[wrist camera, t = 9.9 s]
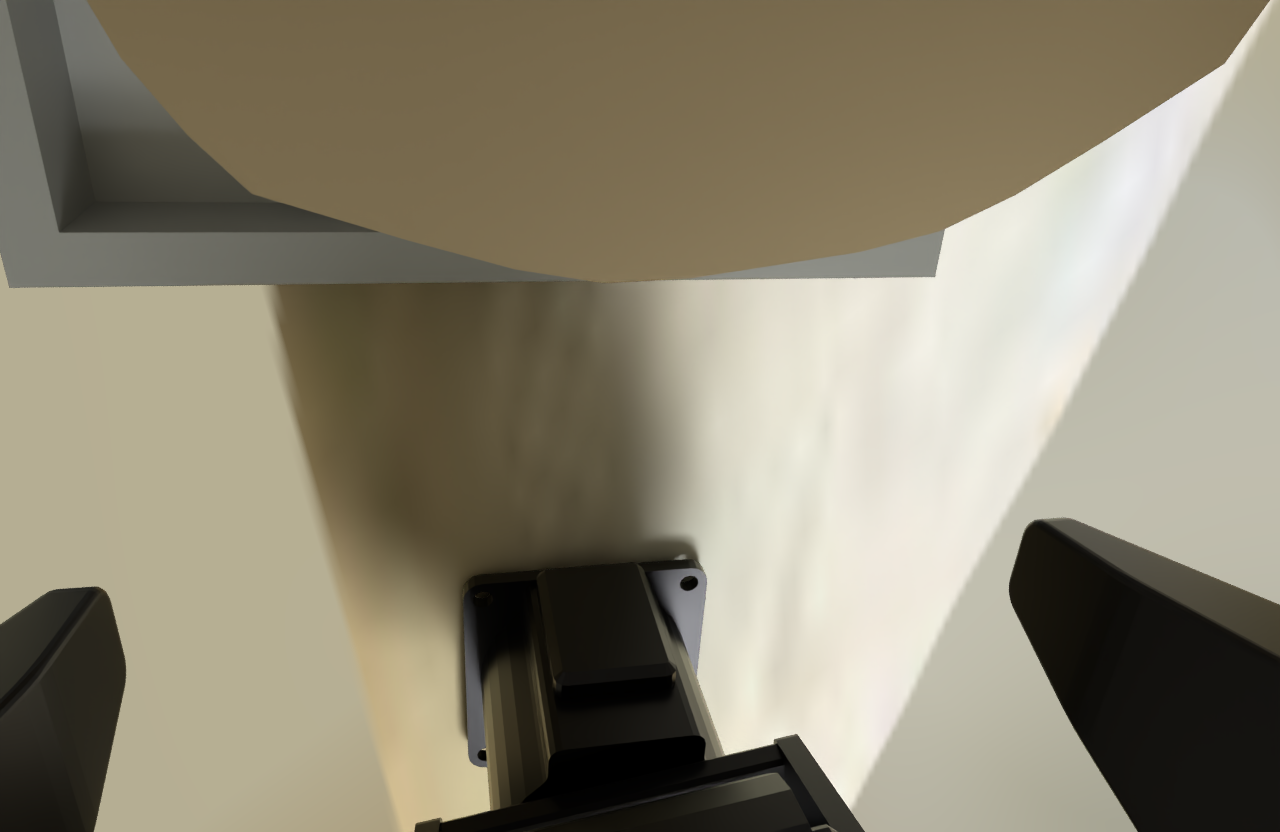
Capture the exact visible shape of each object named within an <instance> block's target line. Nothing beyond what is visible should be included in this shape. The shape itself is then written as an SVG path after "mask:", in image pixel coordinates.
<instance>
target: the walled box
mask: <svg viewBox="0 0 1280 832" xmlns="http://www.w3.org/2000/svg"><path fill="white" fill-rule="evenodd" d="M944 231H945V229H943V230H941V231H939V232H935V233H931V234H928V235H924V236H920V237H916V238H912V239H908V240H904V241H901V242H897V243H893V244H889V245H885V246H881V247H877V248H874V249H870V250H866V251H862V252H857V253H851V254H845V255H838V256H832V257H825V258H819V259H812V260H806V261H799V262H793V263H787V264H780V265H774V266H767V267H761V268H754V269H748V270H742V271H735V272H729V273H722V274H716V275H709V276H703V277H696V278H689V279H671V280H713V279H799V278H886V277H935V274H936V269H937V264H938V259H939V254H940V250H941V245H942V240H943V235H944ZM0 253H1V257H2V261H3V265H4V269H5V272H6V276H7V280H8V284H9V287H10V288H20V287H102V286H103V287H104V286H188V285H189V286H191V285H193V286H194V285H280V284H367V283H453V282H540V281H587V280H581V279H574V278H567V277H561V276H554V275H548V274H541V273H535V272H528V271H522V270H516V269H512V268H508V267H504V266H501V265H497V264H493V263H490V262H486V261H482V260H479V259H475V258H471V257H467V256H464V255H460V254H456V253H453V252H449V251H445V250H441V249H438V248H434V247H430V246H427V245H423V244H419V243H416V242H412V241H408V240H405V239H401V238H398V237H395V236H391V235H388V234H385V233H381V232H378V231H375V230H371V229H368V228H364V227H361V226H358V225H354V224H351V223H348V222H344V221H341V220H338V219H334V218H331V217H328V216H324V215H321V214H318V213H314V212H311V211H308V210H304V209H301V208H297V207H294V206H291V205H287V204H284V203H281V202H277V201H274V200H271V199H267V198H264V197H261V196H257V195H254V194H251V193H250V192H249V191H248V190H247V189H246V188H245V187H244V186H243V185H242V184H240V183H239V182H238V181H237V180H236V179H235V178H234V177H233V176H232V175H231V174H230V173H228V172H227V171H226V170H225V169H224V168H223V167H222V166H221V165H220V164H219V163H218V162H216V161H215V160H214V159H213V158H212V157H211V156H210V155H209V154H208V153H207V152H206V151H204V150H203V149H202V148H201V147H200V146H199V145H198V144H197V143H196V142H195V141H194V140H192V139H191V138H190V137H189V136H188V135H187V134H186V133H185V132H184V130H183V129H182V128H181V127H180V126H179V125H178V124H177V122H176V121H175V120H174V119H173V118H172V117H171V115H170V114H169V113H168V112H167V111H166V110H165V109H164V107H163V106H162V105H161V104H160V103H159V102H158V100H157V99H156V98H155V97H154V96H153V95H152V94H151V92H150V91H149V90H148V89H147V88H146V87H145V86H144V84H143V83H142V82H141V81H140V80H139V79H138V77H137V76H136V75H135V74H134V73H133V72H132V71H131V69H130V68H129V67H128V66H127V65H126V64H125V62H124V61H123V60H122V59H121V58H120V56H119V54H118V53H117V51H116V49H115V47H114V46H113V44H112V42H111V41H110V39H109V37H108V36H107V34H106V32H105V31H104V29H103V27H102V26H101V24H100V22H99V20H98V19H97V17H96V15H95V14H94V12H93V10H92V9H91V7H90V5H89V4H88V2H87V0H0Z"/></svg>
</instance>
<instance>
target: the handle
mask: <svg viewBox="0 0 1280 832" xmlns="http://www.w3.org/2000/svg"><path fill="white" fill-rule="evenodd" d="M1269 1H1270V0H87V2H88V4H89V5H90V7H91V9H92V10H93V12H94V14H95V15H96V17H97V19H98V20H99V22H100V24H101V26H102V27H103V29H104V31H105V32H106V34H107V36H108V37H109V39H110V41H111V42H112V44H113V46H114V47H115V49H116V51H117V53H118V54H119V56H120V58H121V59H122V60H123V61H124V62H125V64H126V65H127V66H128V67H129V68H130V69H131V71H132V72H133V73H134V74H135V75H136V76H137V77H138V79H139V80H140V81H141V82H142V83H143V84H144V86H145V87H146V88H147V89H148V90H149V91H150V92H151V94H152V95H153V96H154V97H155V98H156V99H157V100H158V102H159V103H160V104H161V105H162V106H163V107H164V109H165V110H166V111H167V112H168V113H169V114H170V115H171V117H172V118H173V119H174V120H175V121H176V122H177V124H178V125H179V126H180V127H181V128H182V129H183V130H184V132H185V133H186V134H187V135H188V136H189V137H190V138H191V139H192V140H194V141H195V142H196V143H197V144H198V145H199V146H200V147H201V148H202V149H203V150H204V151H206V152H207V153H208V154H209V155H210V156H211V157H212V158H213V159H214V160H215V161H216V162H218V163H219V164H220V165H221V166H222V167H223V168H224V169H225V170H226V171H227V172H228V173H230V174H231V175H232V176H233V177H234V178H235V179H236V180H237V181H238V182H239V183H240V184H242V185H243V186H244V187H245V188H246V189H247V190H248V191H249V192H250V193H251V194H254V195H257V196H261V197H264V198H267V199H271V200H274V201H277V202H281V203H284V204H287V205H291V206H294V207H297V208H301V209H304V210H308V211H311V212H314V213H318V214H321V215H324V216H328V217H331V218H334V219H338V220H341V221H344V222H348V223H351V224H354V225H358V226H361V227H364V228H368V229H371V230H375V231H378V232H381V233H385V234H388V235H391V236H395V237H398V238H401V239H405V240H408V241H412V242H416V243H419V244H423V245H427V246H430V247H434V248H438V249H441V250H445V251H449V252H453V253H456V254H460V255H464V256H467V257H471V258H475V259H479V260H482V261H486V262H490V263H493V264H497V265H501V266H504V267H508V268H512V269H516V270H522V271H528V272H535V273H541V274H548V275H554V276H561V277H567V278H574V279H581V280H587V281H594V282H600V283H615V282H633V281H652V280H671V279H689V278H696V277H703V276H709V275H716V274H722V273H729V272H735V271H742V270H748V269H754V268H761V267H767V266H774V265H780V264H787V263H793V262H799V261H806V260H812V259H819V258H825V257H832V256H838V255H845V254H851V253H857V252H862V251H866V250H870V249H874V248H877V247H881V246H885V245H889V244H893V243H897V242H901V241H904V240H908V239H912V238H916V237H920V236H924V235H928V234H931V233H935V232H939V231H941V230H943V229H945V228H948V227H950V226H952V225H954V224H956V223H958V222H960V221H962V220H964V219H966V218H968V217H970V216H973V215H975V214H977V213H979V212H981V211H983V210H985V209H987V208H989V207H991V206H993V205H995V204H997V203H1000V202H1002V201H1004V200H1006V199H1008V198H1010V197H1012V196H1014V195H1016V194H1018V193H1019V192H1021V191H1023V190H1024V189H1026V188H1028V187H1029V186H1031V185H1033V184H1034V183H1036V182H1037V181H1039V180H1041V179H1042V178H1044V177H1046V176H1047V175H1049V174H1051V173H1052V172H1054V171H1056V170H1057V169H1059V168H1060V167H1062V166H1064V165H1065V164H1067V163H1069V162H1070V161H1072V160H1074V159H1075V158H1077V157H1078V156H1080V155H1082V154H1083V153H1085V152H1087V151H1088V150H1090V149H1092V148H1093V147H1095V146H1097V145H1098V144H1100V143H1101V142H1103V141H1105V140H1106V139H1108V138H1109V137H1111V136H1113V135H1114V134H1116V133H1117V132H1119V131H1120V130H1122V129H1123V128H1125V127H1127V126H1128V125H1130V124H1131V123H1133V122H1134V121H1136V120H1137V119H1139V118H1141V117H1142V116H1144V115H1145V114H1147V113H1148V112H1150V111H1151V110H1153V109H1155V108H1156V107H1158V106H1159V105H1161V104H1162V103H1164V102H1165V101H1167V100H1169V99H1170V98H1172V97H1173V96H1175V95H1176V94H1178V93H1179V92H1181V91H1183V90H1184V89H1186V88H1187V87H1189V86H1190V85H1192V84H1193V83H1195V82H1197V81H1198V80H1200V79H1201V78H1203V77H1204V76H1206V75H1207V74H1209V73H1211V72H1212V71H1214V70H1215V69H1217V68H1218V67H1220V66H1221V65H1223V64H1225V62H1226V61H1227V59H1228V58H1229V57H1230V55H1231V54H1232V52H1233V51H1234V50H1235V48H1236V47H1237V45H1238V44H1239V43H1240V41H1241V40H1242V38H1243V37H1244V36H1245V34H1246V33H1247V31H1248V30H1249V29H1250V27H1251V26H1252V24H1253V23H1254V22H1255V20H1256V19H1257V17H1258V16H1259V15H1260V13H1261V12H1262V10H1263V9H1264V8H1265V6H1266V5H1267V3H1268V2H1269Z"/></svg>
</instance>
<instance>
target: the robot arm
mask: <svg viewBox="0 0 1280 832" xmlns="http://www.w3.org/2000/svg"><path fill="white" fill-rule="evenodd" d="M687 576H694V577H693V578H692V579H691V580H690V581H687V582H681V580H682V579H683V578H685V577H687ZM706 586H707V578H706V575H705V572H704V570H703V568H702V566H701V565H700V563H698V562H696V561H694V560H673V561H660V562H646V563H622V564H608V565H595V566H581V567H568V568H554V569H546V570H538V571H524V572H511V573H497V574H484V575H478V576H474V577H472V578H471V579H469V580H468V581H467V582H466V583H465V585H464V587H463V619H464V647H465V675H466V704H467V732H468V755H469V759H470V762H471V763H473V764H474V765H476V766H479V767H487V769H488V783H489V796H490V810H491V811H487V812H483V813H478V814H474V815H470V816H466V817H461V818H457V819H453V820H449V821H444V822H442V819H441V818H437V819H432V820H428V821H424V822H420V823H416V825H415V832H865V831H864V830H863V829H862V827H861V826H860V824H859V823H858V821H857V820H856V819H855V817H854V815H853V814H852V813H851V811H850V810H849V808H848V807H847V805H846V804H845V802H844V801H843V800H842V798H841V797H840V795H839V794H838V792H837V791H836V789H835V788H834V787H833V785H832V784H831V782H830V781H829V779H828V778H827V776H826V775H825V774H824V772H823V771H822V769H821V768H820V766H819V765H818V763H817V762H816V761H815V759H814V758H813V756H812V755H811V753H810V752H809V750H808V749H807V748H806V746H805V745H804V743H803V742H802V740H801V739H800V738H799V736H798V735H797V734H795V735H790V736H786V737H782V738H778V739H774V744H772V745H767V746H763V747H759V748H755V749H750V750H746V751H742V752H738V753H733V754H729V755H724V752H723V749H722V746H721V744H720V741H719V738H718V735H717V732H716V730H715V727H714V724H713V721H712V719H711V716H710V713H709V710H708V707H707V705H706V702H705V699H704V696H703V694H702V691H701V688H700V685H699V682H698V680H697V668H698V659H699V650H700V641H701V631H702V622H703V613H704V604H705V595H706ZM480 592H488V593H489V594H490V595H488V596H487V597H484V598H477V597H476V596H475V595H476V594H477V593H480ZM1009 595H1010V600H1011V603H1012V606H1013V608H1014V610H1015V612H1016V614H1017V617H1018V618H1019V620H1020V622H1021V625H1022V627H1023V629H1024V631H1025V633H1026V635H1027V636H1028V639H1029V641H1030V643H1031V645H1032V647H1033V649H1034V651H1035V653H1036V655H1037V657H1038V659H1039V661H1040V663H1041V665H1042V667H1043V669H1044V671H1045V673H1046V675H1047V677H1048V679H1049V681H1050V683H1051V685H1052V687H1053V689H1054V691H1055V693H1056V695H1057V697H1058V699H1059V701H1060V703H1061V705H1062V707H1063V709H1064V711H1065V713H1066V715H1067V716H1068V719H1069V720H1070V722H1071V724H1072V726H1073V728H1074V730H1075V731H1076V733H1077V735H1078V736H1079V738H1080V740H1081V741H1082V743H1083V745H1084V746H1085V748H1086V750H1087V751H1088V753H1089V754H1090V756H1091V758H1092V759H1093V761H1094V763H1095V764H1096V766H1097V767H1098V769H1099V771H1100V772H1101V774H1102V775H1103V777H1104V779H1105V780H1106V782H1107V783H1108V785H1109V786H1110V788H1111V790H1112V791H1113V793H1114V795H1115V796H1116V798H1117V799H1118V801H1119V803H1120V804H1121V806H1122V807H1123V809H1124V811H1125V812H1126V814H1127V815H1128V817H1129V819H1130V820H1131V822H1132V823H1133V825H1134V827H1135V828H1136V830H1137V831H1138V832H1280V605H1279V604H1277V603H1274V602H1272V601H1269V600H1267V599H1264V598H1262V597H1260V596H1257V595H1255V594H1252V593H1250V592H1247V591H1245V590H1243V589H1240V588H1238V587H1236V586H1233V585H1231V584H1228V583H1226V582H1223V581H1221V580H1219V579H1216V578H1214V577H1211V576H1209V575H1207V574H1204V573H1202V572H1199V571H1196V570H1195V569H1192V568H1189V567H1187V566H1185V565H1182V564H1180V563H1178V562H1175V561H1173V560H1170V559H1168V558H1166V557H1163V556H1161V555H1158V554H1156V553H1154V552H1151V551H1149V550H1146V549H1144V548H1141V547H1139V546H1137V545H1134V544H1132V543H1129V542H1127V541H1125V540H1122V539H1120V538H1117V537H1115V536H1112V535H1110V534H1108V533H1105V532H1103V531H1100V530H1098V529H1095V528H1093V527H1091V526H1088V525H1086V524H1084V523H1081V522H1079V521H1076V520H1074V519H1071V518H1051V519H1038V520H1034V521H1032V522H1031V523H1029V525H1028V526H1027V527H1026V528H1025V530H1024V533H1023V536H1022V540H1021V543H1020V546H1019V550H1018V553H1017V557H1016V560H1015V564H1014V567H1013V571H1012V574H1011V577H1010V582H1009ZM125 682H126V663H125V656H124V652H123V648H122V644H121V640H120V636H119V632H118V628H117V624H116V620H115V616H114V612H113V609H112V605H111V601H110V598H109V596H108V594H107V593H106V591H105V590H103V589H101V588H99V587H82V588H68V589H56V590H52V591H49V592H47V593H46V594H44V595H42V596H41V597H40V598H38V599H37V600H35V601H34V602H32V603H31V604H29V605H28V606H27V607H25V608H24V609H22V610H21V611H19V612H18V613H16V614H15V615H13V616H12V617H11V618H9V619H8V620H6V621H5V622H3V623H2V624H0V832H94V828H95V825H96V820H97V816H98V811H99V806H100V802H101V797H102V792H103V787H104V783H105V778H106V773H107V768H108V764H109V759H110V754H111V750H112V745H113V740H114V735H115V731H116V726H117V721H118V717H119V712H120V707H121V703H122V698H123V693H124V688H125ZM484 748H486V750H481V749H484Z"/></svg>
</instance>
